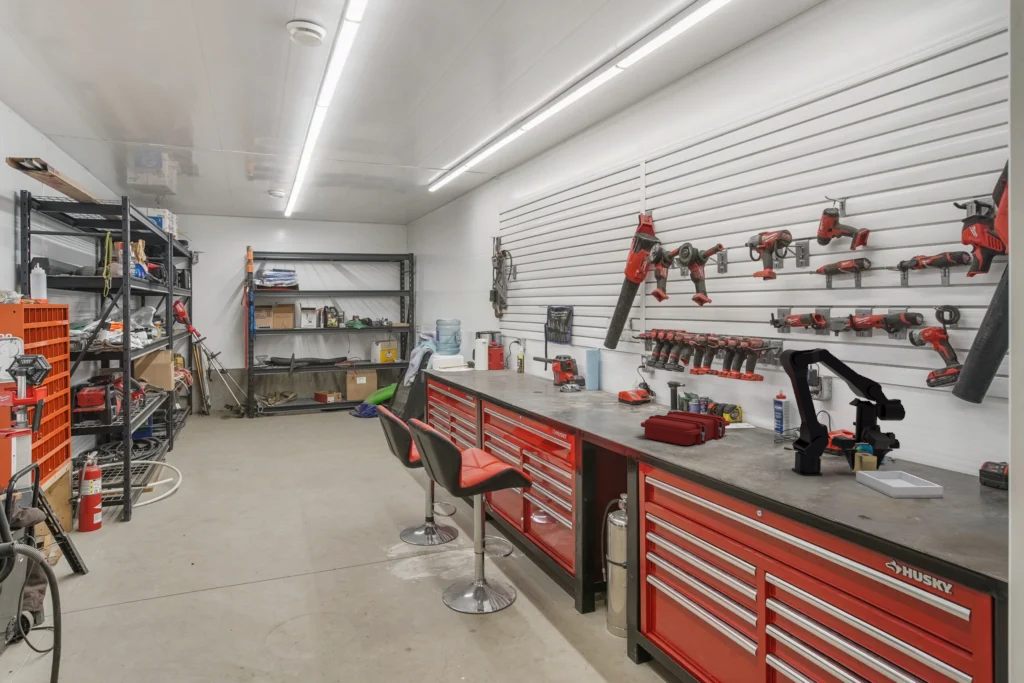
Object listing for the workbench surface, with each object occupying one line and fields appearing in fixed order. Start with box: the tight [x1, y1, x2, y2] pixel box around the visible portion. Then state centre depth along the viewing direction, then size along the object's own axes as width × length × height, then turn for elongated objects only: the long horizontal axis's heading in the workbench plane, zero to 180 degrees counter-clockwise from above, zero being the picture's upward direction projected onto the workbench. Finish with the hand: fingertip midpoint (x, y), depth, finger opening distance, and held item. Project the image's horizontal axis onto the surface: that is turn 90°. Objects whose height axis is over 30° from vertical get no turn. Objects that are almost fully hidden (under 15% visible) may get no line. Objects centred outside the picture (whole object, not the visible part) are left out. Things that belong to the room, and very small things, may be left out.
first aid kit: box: [640, 410, 731, 446], centre depth 233 cm, size 32×23×9 cm
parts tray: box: [855, 470, 944, 499], centre depth 166 cm, size 14×16×3 cm
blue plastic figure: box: [855, 442, 886, 462], centre depth 198 cm, size 11×6×10 cm
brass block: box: [852, 452, 877, 474], centre depth 182 cm, size 4×4×6 cm
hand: (864, 469), depth 182 cm, fingers open, 7 cm apart
